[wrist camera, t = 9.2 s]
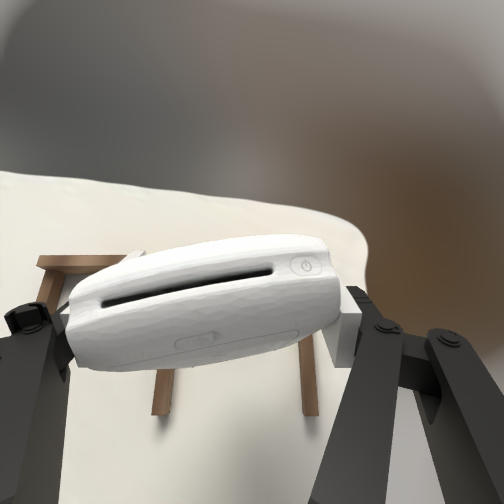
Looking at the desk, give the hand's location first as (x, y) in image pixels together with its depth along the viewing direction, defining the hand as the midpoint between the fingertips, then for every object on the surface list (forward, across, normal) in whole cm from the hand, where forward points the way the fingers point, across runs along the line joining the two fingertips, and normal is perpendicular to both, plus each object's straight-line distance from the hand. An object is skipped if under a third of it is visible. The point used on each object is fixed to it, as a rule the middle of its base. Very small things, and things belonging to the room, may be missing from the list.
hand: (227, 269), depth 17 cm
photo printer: (+1, 0, -6) cm, 6 cm away
